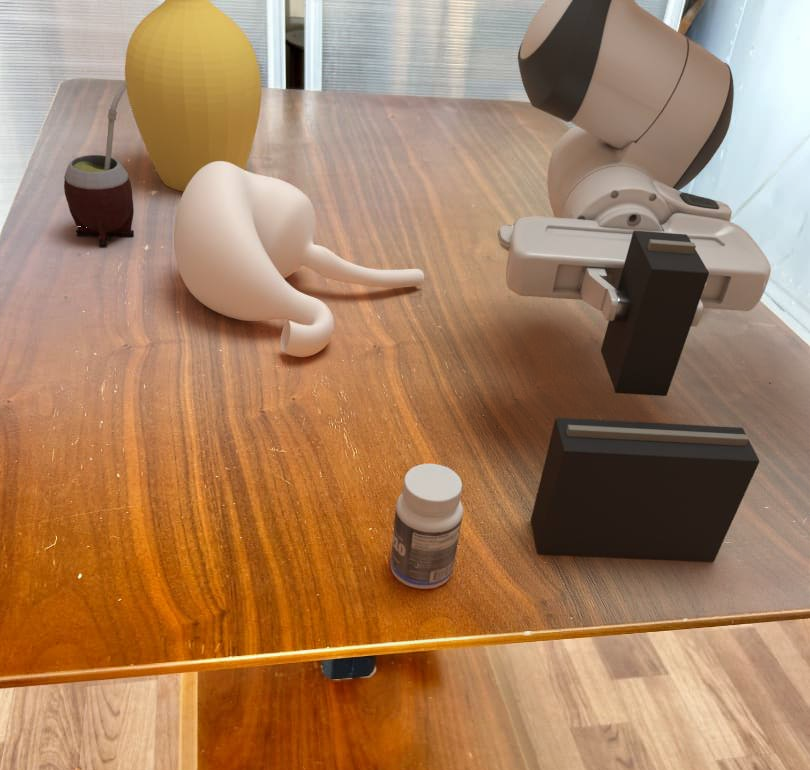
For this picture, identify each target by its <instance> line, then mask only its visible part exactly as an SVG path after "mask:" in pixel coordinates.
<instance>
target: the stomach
mask: <svg viewBox="0 0 810 770" xmlns="http://www.w3.org/2000/svg"><path fill="white" fill-rule="evenodd" d="M316 233H317V219H316V212H315V208H314V205H313V203H312V201H311V200H310V198H309V197H308V196H307V195H306V194H305V193H304V192H303V191H302V190H300V189H299V188H297V187H296V186H295V185H294V184H291V183H288V182H287V181H284V180H282V179H279V178H276V177H271V176H267V175H263V174H258V173H254V172H250V171H247V170H246V169H245V170H243V169H241V168H239V167H237V166H236V165H234V164H231V163H229V162H225V161H216V162H212V163H209V164H207V165H206V166H204V167H203V168H201V169H200V170H199V171H198V172H197V173H196V174H195V175H194V176H193V178H192V179H191V180H190V182H189V183H188V185H187V187H186V189H185V191H184V192H183V193H182V195H181V197H180V200H179V204H178V207H177V210H176V216H175V219H174V228H173V247H174V255H175V262H176V265H177V269H178V272H179V275H180V277H181V279H182V281H183V283H184V285H185V287H186V288H187V289H188V291H189V292H190V294H191V295H192V296H193V297H194V298H195V299H196V300H197V301H198V302H200V303H201V304H202V305H203V306H205V307H207V308H208V309H210V310H212V311H214V312H216V313H218V314H220V315H222V316H226V317H228V318H231V319H235V320H239V321H247V322H264V321H271V320H286V322H285V323H284V325H283V327H282V329H281V335H280V350H281V352H282V353H283V354H285V355H288V356H292V357H297V358H306V357H311V356H313V355H316V354H318V353H320V352H321V351H322V350H323V349H324V348H326V347H327V345H328V344H329V343H330V341H331V339H332V337H333V335H334V331H335V318H334V315H333V313H332V311H331V309H330V308H329V306H328V305H327V304H325V303H324V301H322V300H320V299H319V298H316V297H314V296H311V295H309V294H306V293H304V292H301V291H299V290H297V289H296V288H294V287H293V286H292V285H291V284H290V283H289V282H288V281H287V280H286V279H287V278H288V277H289V276H291V275H292V274H294V273H296V272H297V271H298V270H299V269H300V268H301V267H302V266H303V267H305V268H309V269H310V270H312V271H313V272H315V273H316V274H318V275H319V276H321V277H323V278H326V279H330V280H333V281H337V282H342V283H345V284H354V285H360V286H364V287H365V286H366V287H372V288H384V289H386V288H387V289H393V288H395V289H397V288H410V287H418V286H422V285H423V284H424V282H425V274H424V272H423V271H422V270H421V269H420V268H405V269H404V268H403V269H378V268H377V269H376V268H370V267H365V266H361V265H358V264H355V263H354V262H350V261H348V260H345V259H343V258H341V257H340V256H338V255H336V254H335V253H334V252H332V250H330V249H328V248H327V247H325V246H322V245H319V244H314V243H315V240H316V235H317V234H316Z"/></svg>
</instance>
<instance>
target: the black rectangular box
mask: <svg viewBox="0 0 810 770" xmlns="http://www.w3.org/2000/svg"><path fill="white" fill-rule="evenodd" d="M759 464H760V459H759V456H758V455H757V453H756V451H755V449H754V447H753V445H752V443H751V441H750V439H749V437H748V436H747V433H746V431H745V430H744V428H743V427H736V426H735V427H734V426H716V425H701V424H684V423H683V424H682V423H666V422H665V423H663V422H649V421H647V422H645V421H644V422H643V421H626V420H611V419H609V420H608V419H592V418H573V417H555V418H554V423H553V427H552V431H551V435H550V439H549V444H548V448H547V452H546V456H545V459H544V463H543V468H542V472H541V476H540V480H539V483H538V488H537V493H536V497H535V501H534V506H533V509H532V514H531V517H530V523H531V527H532V533H533V538H534V544H535V550H536V554H537V555H545V556H546V555H547V556H548V555H549V556H550V555H551V556H571V557H572V556H573V557H596V558H616V559H617V558H618V559H619V558H621V559H640V560H641V559H642V560H661V561H663V560H664V561H685V562H686V561H687V562H688V561H689V562H712V563H713V562H715V561H716V558H717V556H718V553H719V551H720V549H721V547H722V545H723V543H724V541H725V538H726V536H727V534H728V532H729V530H730V527H731V525H732V523H733V521H734V519H735V516H736V514H737V513H738V510H739V507H740V506H741V504H742V501H743V500H744V497H745V495H746V492H747V490H748V488H749V486H750V483H751V481H752V480H753V477H754V475H755V472H756V470H757V468H758V466H759Z"/></svg>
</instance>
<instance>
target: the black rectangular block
mask: <svg viewBox="0 0 810 770" xmlns="http://www.w3.org/2000/svg"><path fill="white" fill-rule="evenodd" d="M695 248H696V245H695V244H694V243H693V242H691V241H690V239H689V237H688V236H687V235H686V234H673V233H660V232H647V231H633V234H632V238H631V242H630V245H629V249H628V253H627V256H626V260H625V264H624V267H623V271H622V275H621V278H620V282H619V285H618V289H617V290H626V291H627V293H628V297H629V298H630V308H629V311H628V312H627V319H626V321H625V322H623V321H607V325H606V326H607V327H606V330H605V333H604V337H603V340H602V344H601V348H600V353H601V356H602V359H603V361H604V364H605V368H606V370H607V373H608V376H609V379H610V382H611V384H612V387H613V390H614V394H623V395H626V394H627V395H638V396H639V395H640V396H656V397H667V396H668V394H669V390H670V388H671V384H672V381H673V379H674V376H675V374H676V370H677V367H678V365H679V362H680V358H681V356H682V353H683V351H684V347H685V344H686V341H687V340H688V339H687V338H688V336H689V333H690V330H691V327H692V326H691V324H692V321H693V318H694V316H695V313H696V310H697V307H698V304H699V301H700V298H701V295H702V292H703V290H704V287H705V284H706V281H707V278H708V275H709V272H708V270H707V268H706V267H705V265H704V263H703V261H702V260H701V258H700V256H699V255H698V253H697V251H696V249H695Z"/></svg>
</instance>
